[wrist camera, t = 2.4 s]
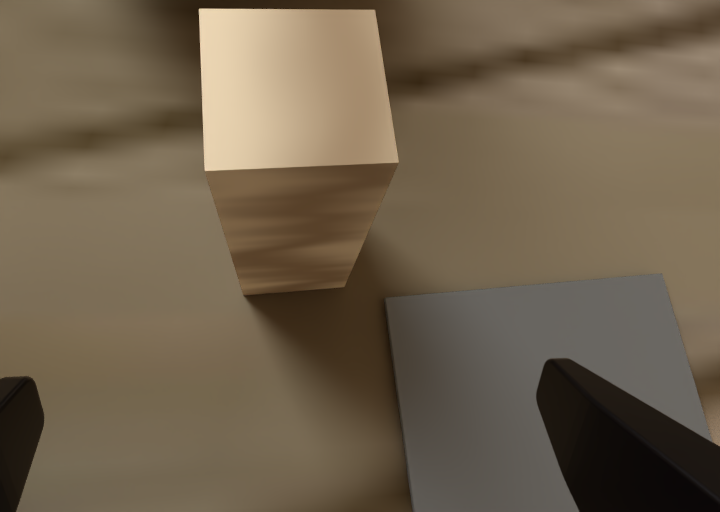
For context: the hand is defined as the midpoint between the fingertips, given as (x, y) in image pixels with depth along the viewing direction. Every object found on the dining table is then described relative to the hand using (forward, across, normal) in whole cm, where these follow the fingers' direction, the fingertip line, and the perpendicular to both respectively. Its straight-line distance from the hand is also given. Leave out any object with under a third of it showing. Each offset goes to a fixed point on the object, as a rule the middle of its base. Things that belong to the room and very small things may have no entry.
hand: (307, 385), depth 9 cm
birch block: (+15, 0, +4) cm, 15 cm away
